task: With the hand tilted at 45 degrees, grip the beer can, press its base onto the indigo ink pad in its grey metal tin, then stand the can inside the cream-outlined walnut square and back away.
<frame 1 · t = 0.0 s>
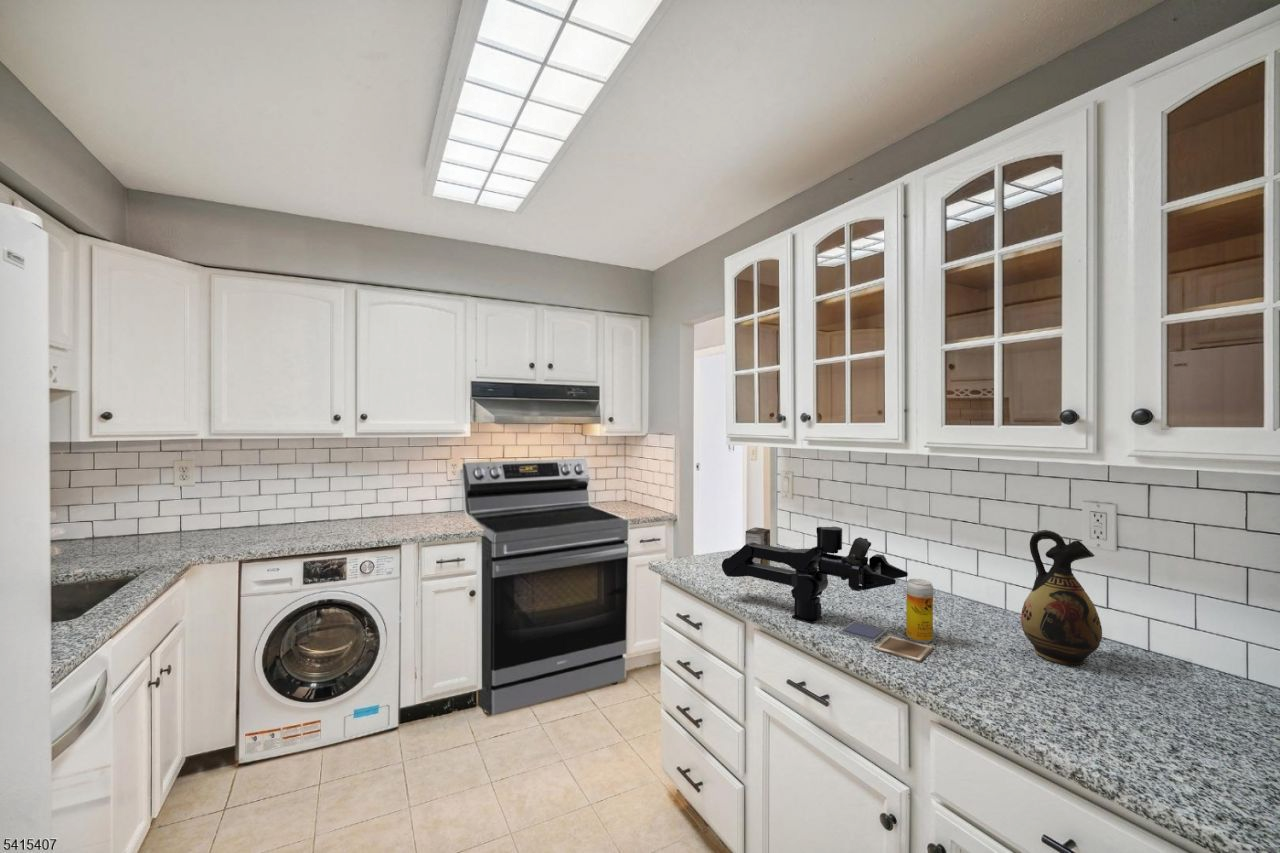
hand: (901, 578, 138), 17 cm above the worktop, tool horizontal, fingers open, 9 cm apart
ink pad: (863, 633, 145), on the worktop
coffee box: (757, 573, 203), on the worktop
marked square: (903, 649, 135), on the worktop
beer can: (919, 640, 141), on the worktop
ceramic jug: (1055, 657, 131), on the worktop
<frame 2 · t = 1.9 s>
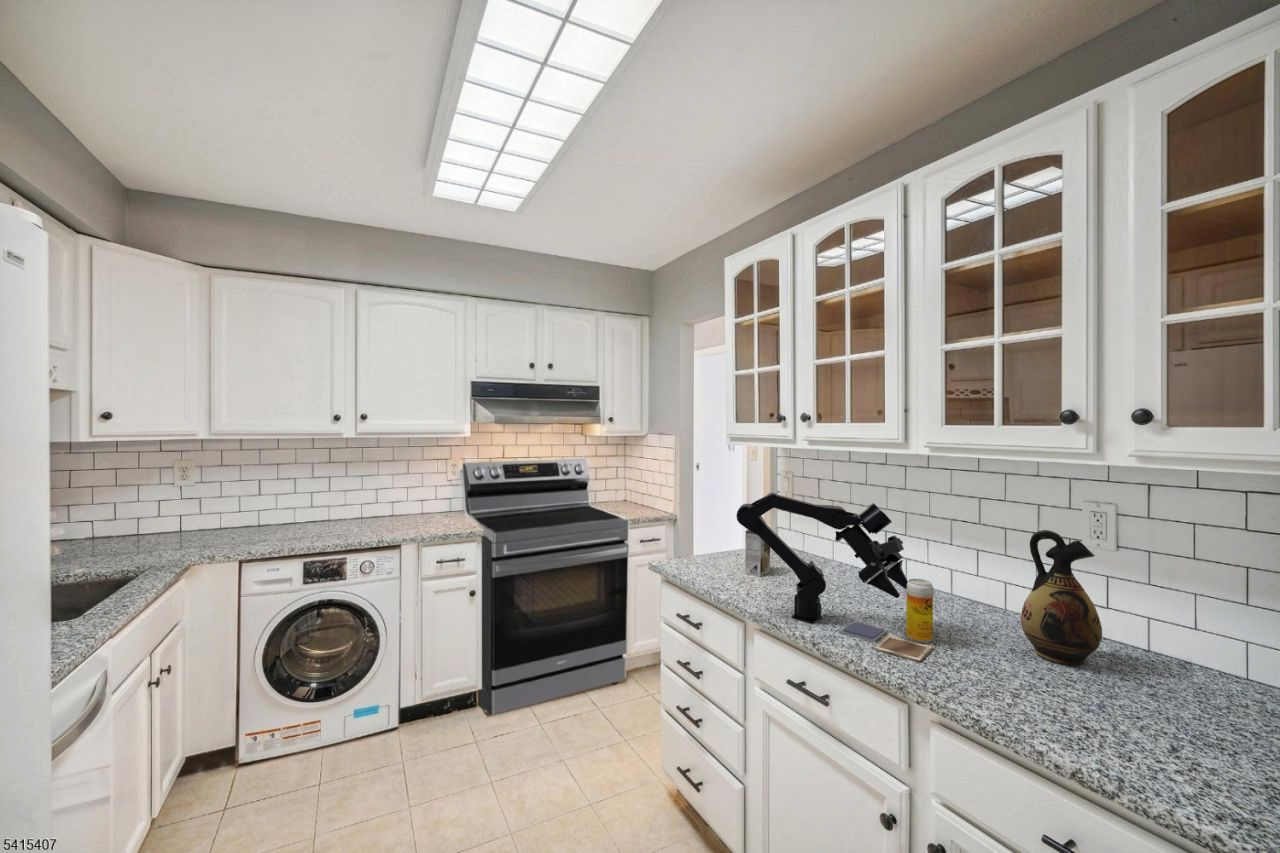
hand: (904, 593, 144), 11 cm above the worktop, tool tilted 45°, fingers open, 9 cm apart
nothing on the worktop moved.
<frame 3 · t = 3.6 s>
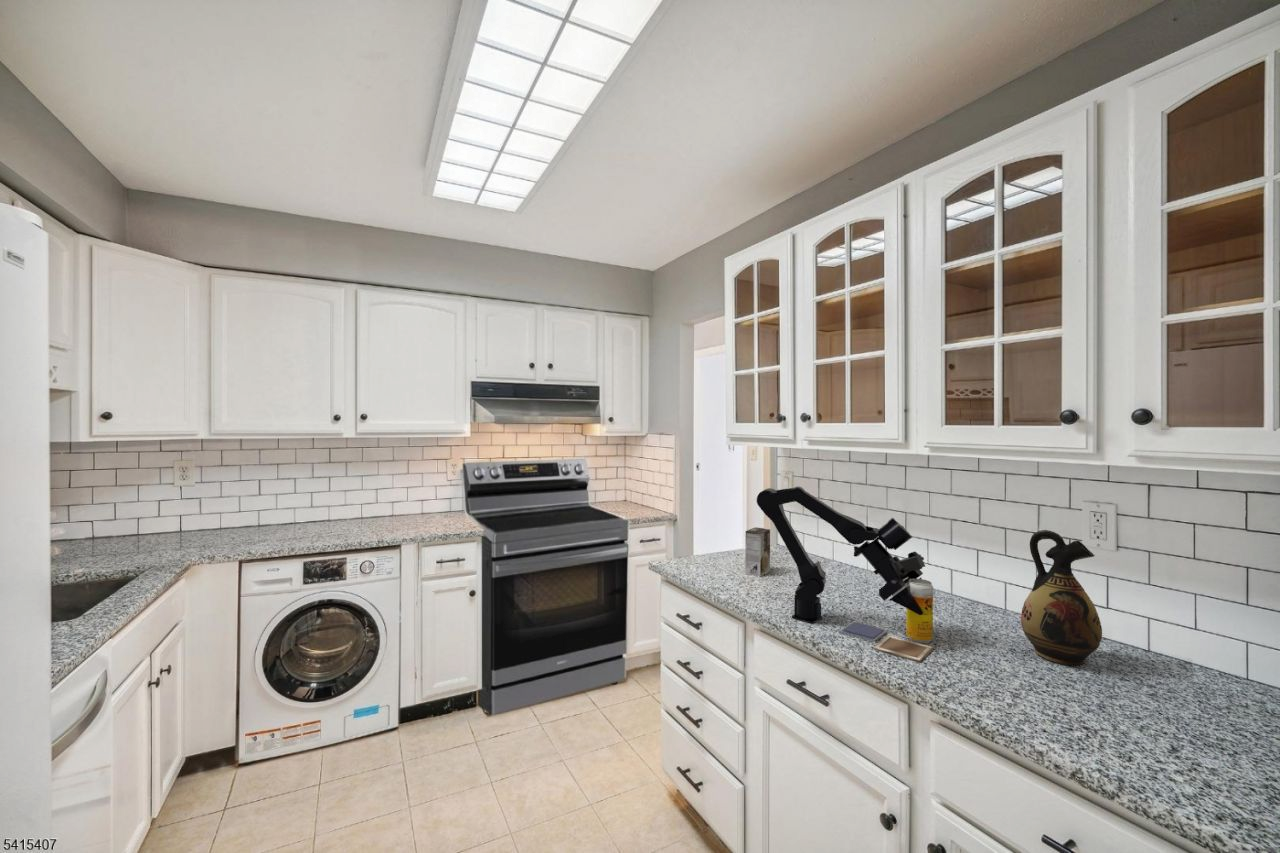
hand: (925, 611, 140), 8 cm above the worktop, tool tilted 45°, fingers closed on beer can, 6 cm apart
beer can: (919, 640, 141), on the worktop, touching gripper
everything else where it was.
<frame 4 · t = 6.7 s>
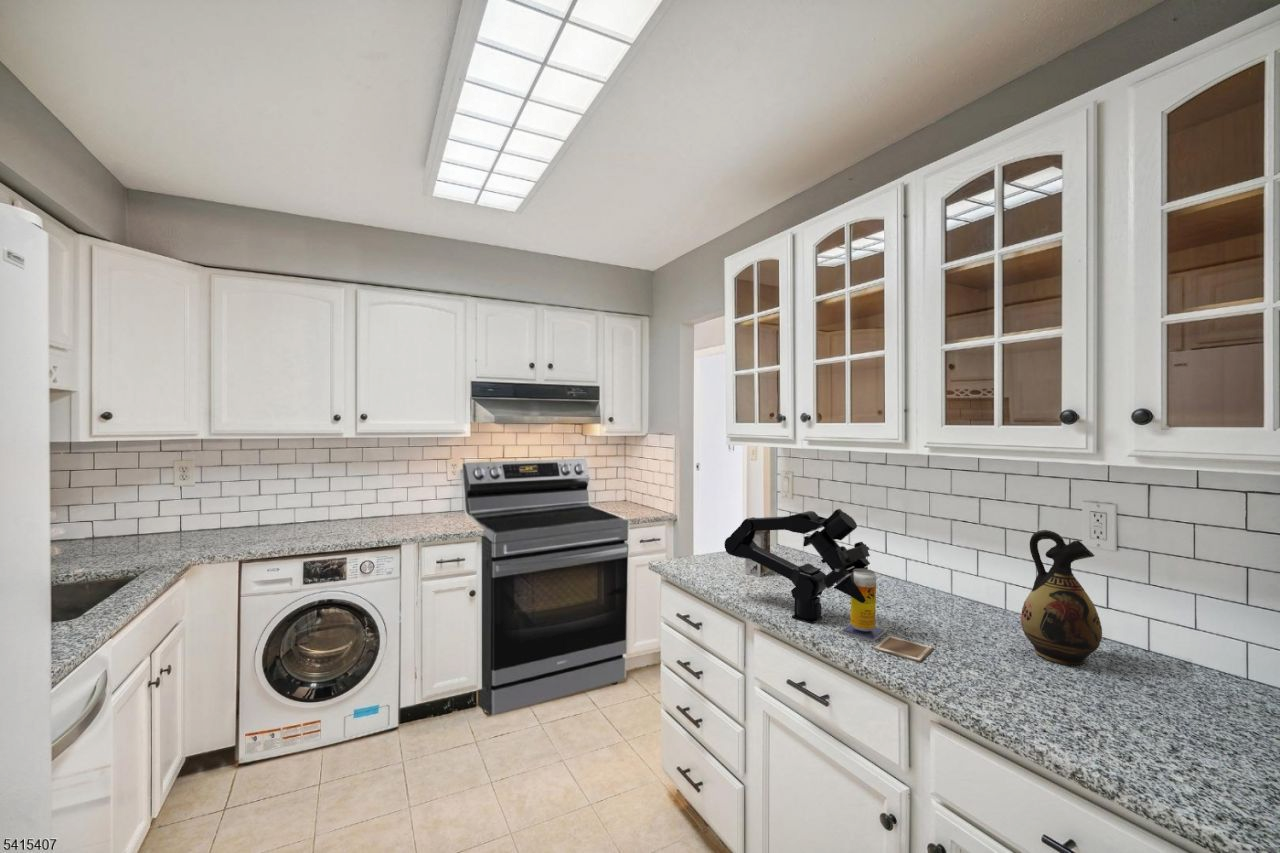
hand: (868, 599, 144), 9 cm above the worktop, tool tilted 45°, fingers closed on beer can, 6 cm apart
beer can: (862, 628, 145), point 1 cm above the worktop, touching gripper
everything else where it was.
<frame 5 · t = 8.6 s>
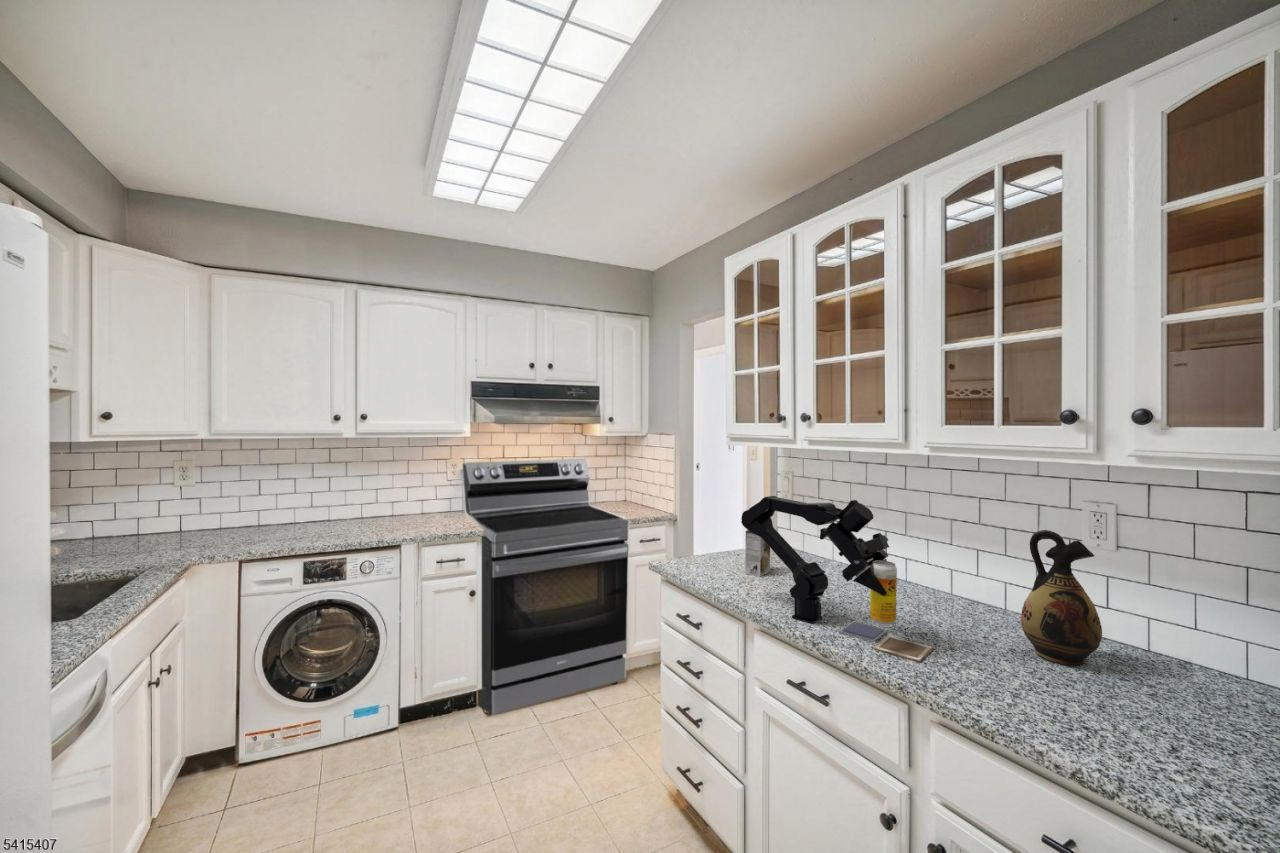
hand: (889, 592, 139), 13 cm above the worktop, tool tilted 45°, fingers closed on beer can, 6 cm apart
beer can: (882, 622, 140), point 5 cm above the worktop, touching gripper
everything else where it was.
when the fingers open (9 cm above the worktop, at t = 10.2 s): beer can stays where it is, resting on marked square.
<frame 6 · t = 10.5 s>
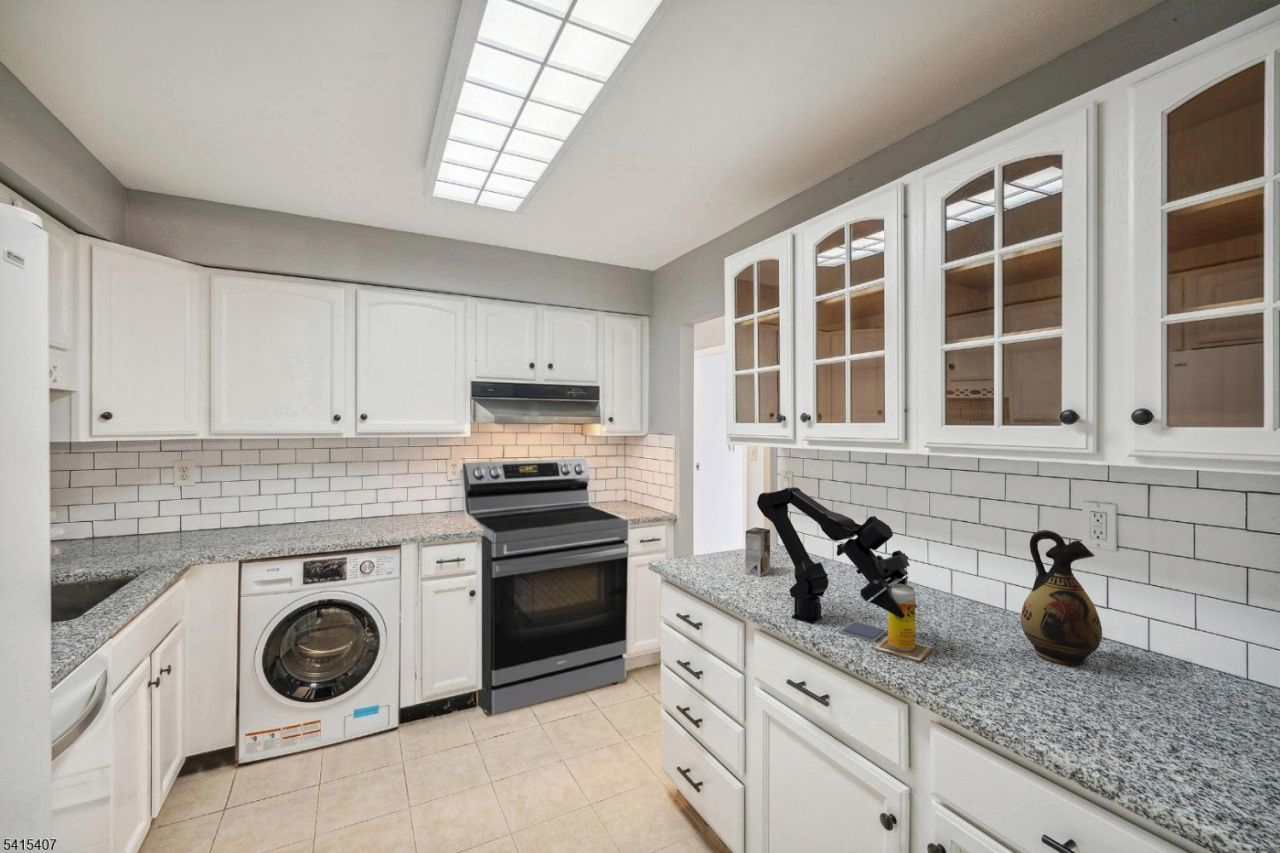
hand: (909, 612, 134), 9 cm above the worktop, tool tilted 45°, fingers open, 9 cm apart
beer can: (901, 648, 135), resting on marked square
everything else where it was.
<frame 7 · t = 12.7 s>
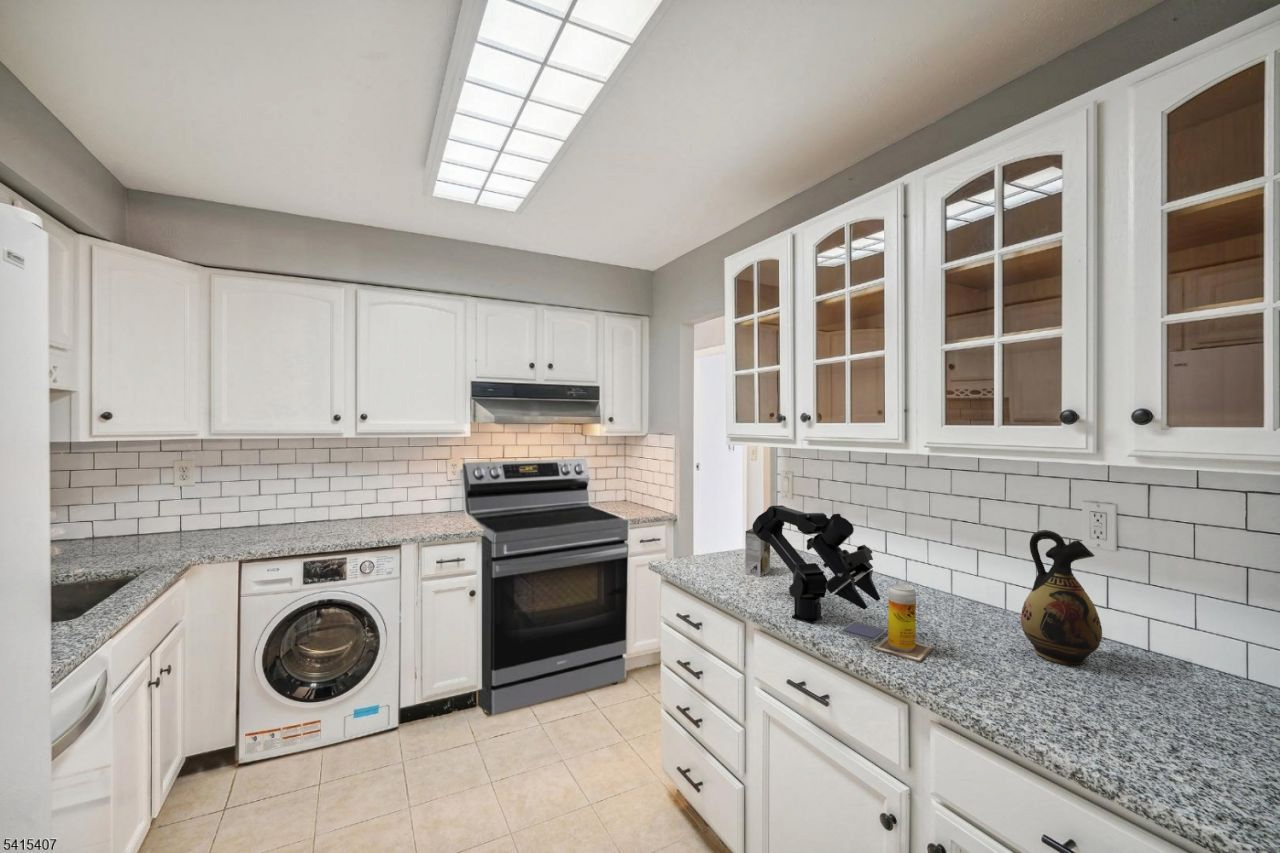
hand: (872, 604, 140), 9 cm above the worktop, tool tilted 45°, fingers open, 9 cm apart
nothing on the worktop moved.
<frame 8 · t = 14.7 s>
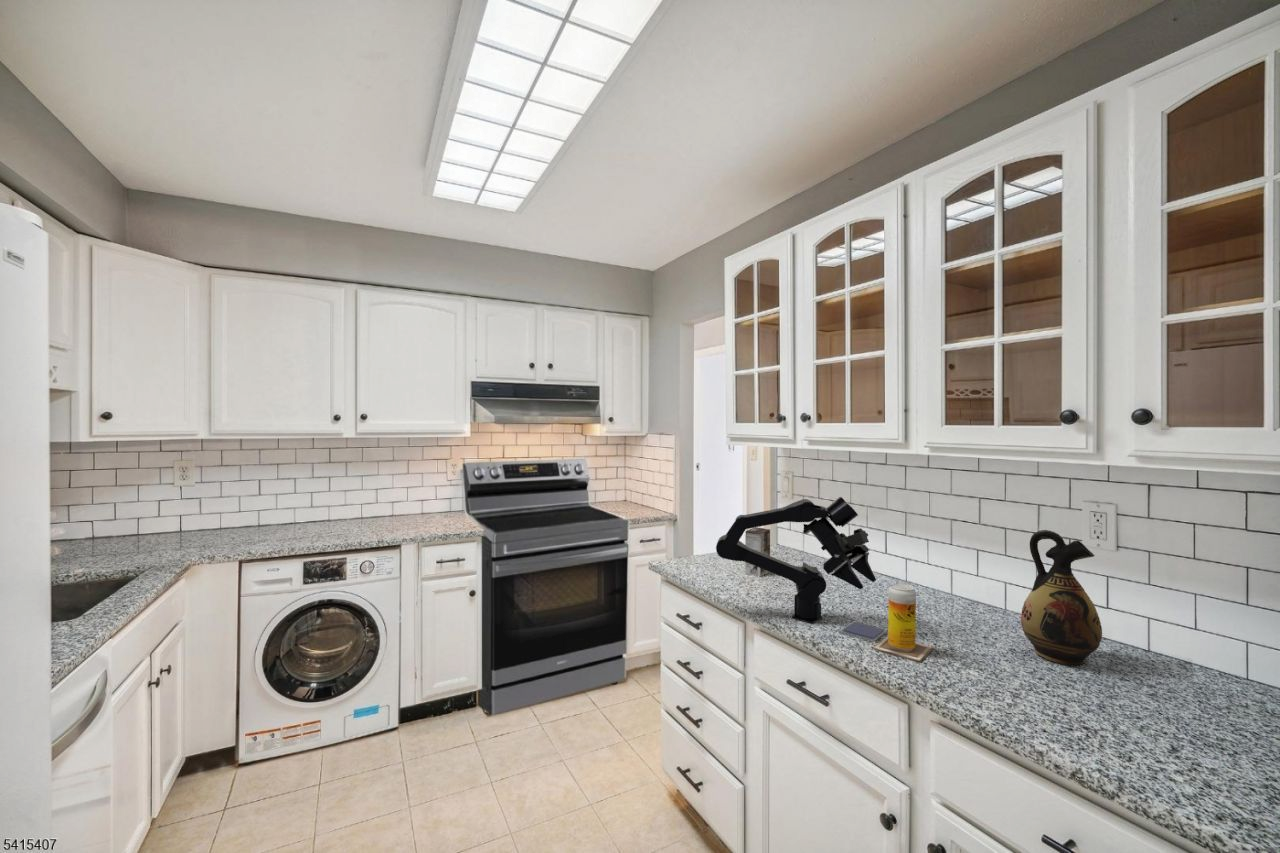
hand: (868, 584, 146), 13 cm above the worktop, tool tilted 45°, fingers open, 9 cm apart
nothing on the worktop moved.
at the end: beer can 0.4 cm off-centre on the marked square, point 0.1 cm above the marked square's base; beer can tilted 0°; the gripper is holding nothing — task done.
